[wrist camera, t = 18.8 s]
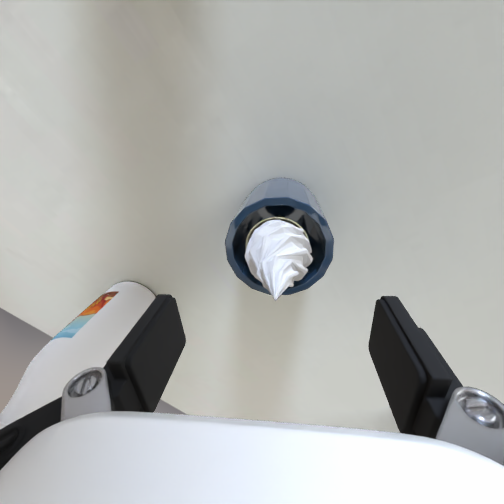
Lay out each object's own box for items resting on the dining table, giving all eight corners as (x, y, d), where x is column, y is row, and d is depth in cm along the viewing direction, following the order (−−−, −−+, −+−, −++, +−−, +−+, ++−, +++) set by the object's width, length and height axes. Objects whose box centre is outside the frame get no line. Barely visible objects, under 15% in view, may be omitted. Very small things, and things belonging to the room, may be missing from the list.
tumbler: (239, 180, 26) (219, 200, 18) (320, 175, 25) (337, 194, 17) (246, 251, 30) (231, 294, 22) (317, 250, 29) (330, 295, 21)
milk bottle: (151, 277, 33) (-7, 443, 15) (168, 322, 36) (53, 504, 18) (101, 281, 35) (-97, 438, 17) (122, 324, 38) (-27, 495, 20)
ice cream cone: (307, 233, 27) (329, 330, 14) (263, 243, 28) (243, 341, 15) (297, 188, 25) (311, 249, 12) (250, 201, 26) (213, 270, 13)
